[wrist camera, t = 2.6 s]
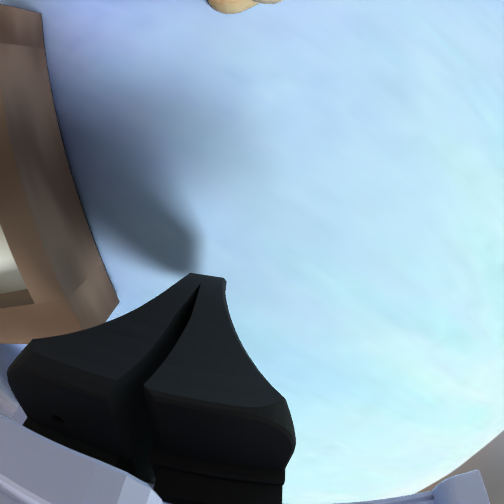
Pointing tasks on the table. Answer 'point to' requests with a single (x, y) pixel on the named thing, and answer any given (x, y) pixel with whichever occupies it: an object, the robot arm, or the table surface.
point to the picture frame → (40, 203)
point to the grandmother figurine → (237, 5)
